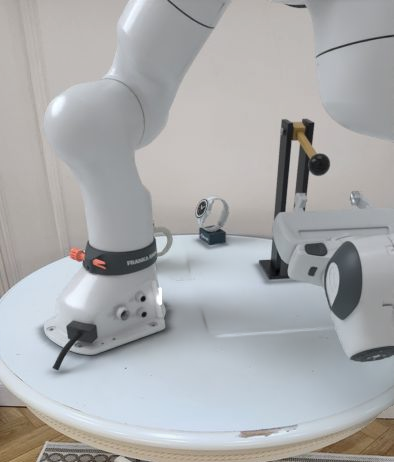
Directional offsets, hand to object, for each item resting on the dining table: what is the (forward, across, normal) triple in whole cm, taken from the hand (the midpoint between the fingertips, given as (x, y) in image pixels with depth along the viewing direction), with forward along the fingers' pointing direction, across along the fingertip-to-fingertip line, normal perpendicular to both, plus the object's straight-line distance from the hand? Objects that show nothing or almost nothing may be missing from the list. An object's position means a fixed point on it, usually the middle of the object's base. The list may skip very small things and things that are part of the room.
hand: (327, 194), depth 86 cm
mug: (+12, +29, +33) cm, 46 cm away
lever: (+13, 0, +4) cm, 13 cm away
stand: (+6, 0, +29) cm, 29 cm away
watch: (+22, +12, +39) cm, 47 cm away
